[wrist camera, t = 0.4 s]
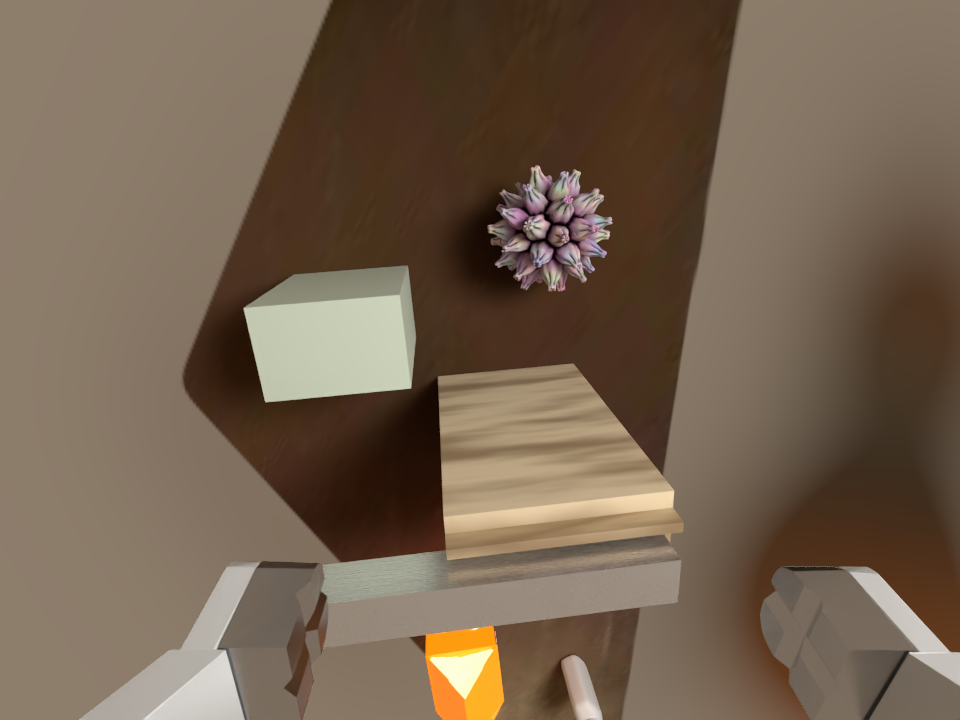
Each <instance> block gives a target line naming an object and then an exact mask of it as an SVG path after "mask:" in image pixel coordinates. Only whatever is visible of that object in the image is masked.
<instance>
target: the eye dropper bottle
mask: <svg viewBox="0 0 960 720" xmlns="http://www.w3.org/2000/svg"><path fill="white" fill-rule="evenodd" d="M561 666H562V671H563V674H564V678H565V682H566V685H567V689H568V693H569V696H570V700H571V704H572V707H573V711H574V714H575V717H576V719H577V720H602V714H601V710H600V707H599V704H598V701H597V698H596V695H595V692H594V689H593V686H592V682H591V679H590V676H589V673H588V670H587V667H586V665H585V663H584V662H583V661H582V660H581V659H580V658H579V657H577V656H576V655H570V656H568V657H566V658H564V659H562V661H561Z"/></svg>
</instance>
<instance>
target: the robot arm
mask: <svg viewBox="0 0 960 720" xmlns="http://www.w3.org/2000/svg"><path fill="white" fill-rule="evenodd" d="M324 579H325V577H324V571H323V566H322V564H319V563H294V562H266V561H263V562H254V561H233V562H231V563H230V564H229V565H228V566H227V567H226V568H225V569H224V571H223V573H222V575H221V576H220V578H219V580H218V582H217V584H216V585H215V587H214V589H213V591H212V593H211V594H210V596H209V598H208V600H207V602H206V603H205V605H204V607H203V609H202V610H201V612H200V614H199V616H198V618H197V619H196V621H195V623H194V625H193V626H192V628H191V630H190V632H189V634H188V635H187V637H186V639H185V641H184V643H183V644H182V646H181V648H180V649H175V650H174V649H173V650H169V651H168V652H166V653H165V654H164V655H162V656H161V657H160V658H158V660H156V661H155V662H153V663H152V664H151V665H149V666H148V667H147V668H146V669H144V670H143V671H142V672H140V673H139V674H138V675H136V676H135V677H134V678H133V679H131V680H130V681H129V682H127V683H126V684H125V685H124V686H122V687H121V688H120V689H118V690H117V691H116V692H114V693H113V694H112V695H111V696H109V697H108V698H107V699H105V700H104V701H103V702H101V703H100V704H99V705H97V706H96V707H95V708H94V709H92V710H91V711H90V712H88V713H87V714H86V715H84V716H83V717H82V718H81V719H79V720H303V717H304V713H305V709H306V706H307V703H308V699H309V696H310V692H311V689H312V685H313V682H314V680H313V673H312V667H311V664H312V663H313V662H314V661H315V660H316V659H317V658H318V657H319V656H320V655H321V653H322V650H323V646H324V642H325V639H326V632H327V625H328V598H327V596H326V595H325V594H324V593H323V592H322V591H321V589H322V586H323V582H324ZM771 582H772V584H773V586H774V587H775V589H776V591H775V592H774V593H772V594H771V595H770V596H768V597H767V598H766V599H765V600H764V603H763V606H762V609H761V612H760V617H761V628H762V632H763V635H764V637H765V640H766V643H767V645H768V646H769V648H770V650H771V652H772V654H773V655H774V657H776V658H777V659H778V660H779V661H781V662H782V663H783V664H784V665H786V666H787V667H788V668H789V669H790V675H789V683H790V685H791V687H792V688H793V690H794V692H795V694H796V695H797V697H798V699H799V700H800V702H801V704H802V706H803V707H804V709H805V711H806V712H807V714H808V716H809V718H810V719H811V720H960V653H958V652H950V651H949V650H948V649H947V648H946V647H945V646H944V645H943V644H942V643H941V642H940V641H939V640H938V638H937V637H936V636H935V635H934V634H933V633H932V632H931V631H930V630H929V629H928V627H927V626H926V625H925V624H924V623H923V622H922V621H921V620H920V619H919V618H918V617H917V616H916V614H915V613H914V612H913V611H912V610H911V609H910V608H909V607H908V606H907V605H906V604H905V602H904V601H902V599H901V598H900V597H899V596H898V595H897V594H896V593H895V592H894V591H893V589H892V588H891V587H890V586H889V585H888V584H887V583H886V582H885V581H884V580H883V579H882V578H881V576H880V575H879V574H877V573H876V572H875V571H873V570H872V569H870V568H868V567H781V568H780V569H779V570H777V571H776V572H775V574H774V577H773V579H772V581H771Z"/></svg>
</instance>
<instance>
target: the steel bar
mask: <svg viewBox="0 0 960 720" xmlns="http://www.w3.org/2000/svg"><path fill="white" fill-rule="evenodd" d="M322 566H323V571H324V577H325V579H324V582H323V586H322V589H321V591H322V592H323V593H324V594H325V595H326V596H327V598H328V625H327V632H326V639H325V642H324V646H323V648H328V647H335V646H343V645H351V644H359V643H367V642H374V641H382V640H390V639H397V638H406V637H413V636H421V635H429V634H436V633H444V632H452V631H460V630H467V629H475V628H483V627H490V626H498V625H506V624H514V623H521V622H529V621H537V620H545V619H552V618H560V617H568V616H575V615H583V614H591V613H599V612H606V611H614V610H622V609H630V608H637V607H645V606H652V605H660V604H668V603H676V602H678V592H679V580H680V569H681V559H680V557H679V556H678V554H677V553H676V552H675V550H674V548H673V547H672V546H671V544H670V542H669V541H668V539H667V538H666V536H665V535H664V534H662V535H654V536H645V537H637V538H629V539H620V540H612V541H604V542H595V543H587V544H579V545H570V546H562V547H554V548H545V549H537V550H529V551H520V552H512V553H504V554H495V555H487V556H479V557H470V558H462V559H454V560H447V555H446V550H445V551H436V552H428V553H420V554H411V555H403V556H394V557H386V558H377V559H369V560H361V561H352V562H344V563H335V564H327V565H322Z"/></svg>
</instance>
